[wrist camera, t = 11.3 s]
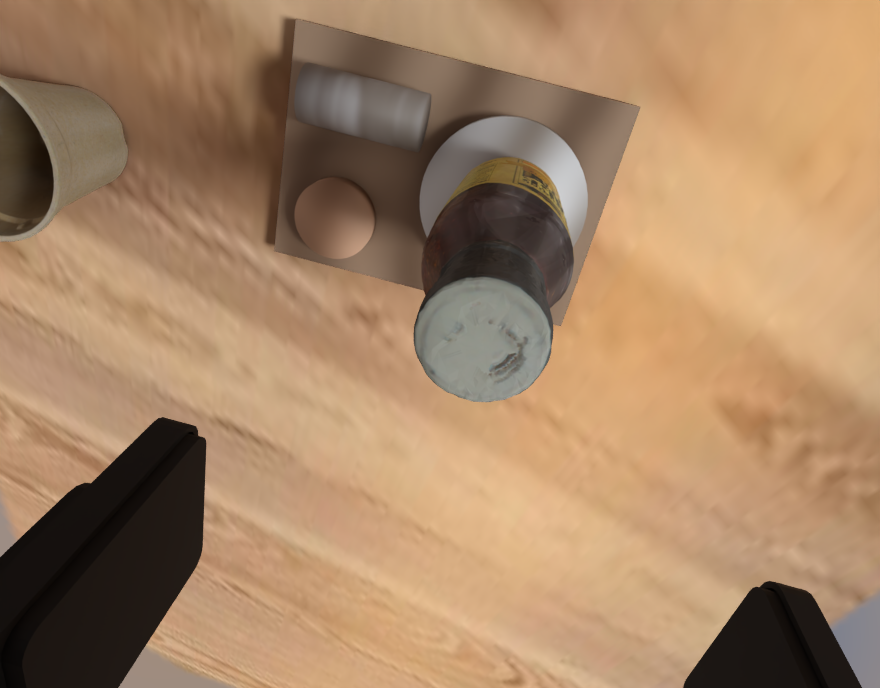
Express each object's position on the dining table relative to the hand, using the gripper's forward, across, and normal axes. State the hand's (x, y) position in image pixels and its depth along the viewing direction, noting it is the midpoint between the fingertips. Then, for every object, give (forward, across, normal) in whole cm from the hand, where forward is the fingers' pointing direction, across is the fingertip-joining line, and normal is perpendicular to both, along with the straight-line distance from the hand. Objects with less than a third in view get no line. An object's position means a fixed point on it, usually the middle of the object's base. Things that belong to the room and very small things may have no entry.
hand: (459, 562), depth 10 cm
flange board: (+30, +4, 0) cm, 30 cm away
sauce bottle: (+28, 0, 0) cm, 28 cm away
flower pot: (+30, +28, +3) cm, 41 cm away
